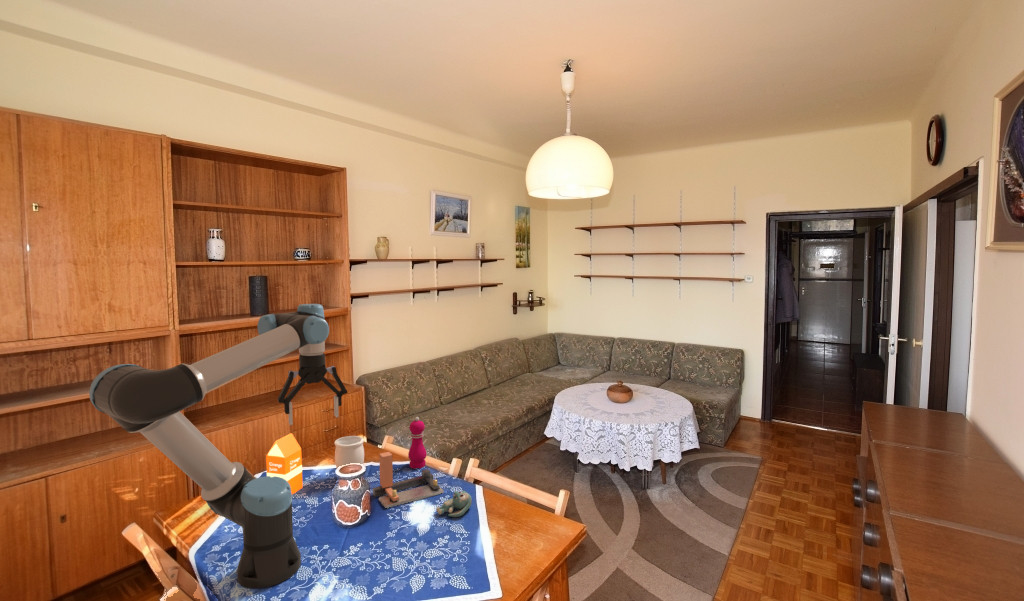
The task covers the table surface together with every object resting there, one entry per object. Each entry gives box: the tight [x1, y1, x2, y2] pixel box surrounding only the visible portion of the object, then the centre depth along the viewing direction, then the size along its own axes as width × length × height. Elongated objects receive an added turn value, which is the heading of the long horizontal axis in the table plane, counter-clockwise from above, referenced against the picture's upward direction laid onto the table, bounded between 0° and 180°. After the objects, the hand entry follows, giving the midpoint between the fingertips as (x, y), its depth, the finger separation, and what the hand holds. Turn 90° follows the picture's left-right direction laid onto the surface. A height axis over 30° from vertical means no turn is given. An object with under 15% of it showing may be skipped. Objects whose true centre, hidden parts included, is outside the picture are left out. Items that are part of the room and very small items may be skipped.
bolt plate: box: [378, 484, 444, 509], centre depth 169 cm, size 7×21×1 cm, turn 123°
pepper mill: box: [407, 416, 427, 470], centre depth 194 cm, size 7×7×20 cm
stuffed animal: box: [435, 490, 473, 518], centre depth 159 cm, size 11×7×12 cm
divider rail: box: [372, 468, 440, 498], centre depth 172 cm, size 11×22×4 cm, turn 123°
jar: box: [334, 435, 365, 469], centre depth 182 cm, size 11×10×15 cm
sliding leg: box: [379, 451, 399, 501], centre depth 168 cm, size 12×4×13 cm, turn 33°
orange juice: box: [265, 432, 303, 495], centre depth 172 cm, size 8×9×20 cm
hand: (314, 420), depth 153 cm, fingers open, 13 cm apart
